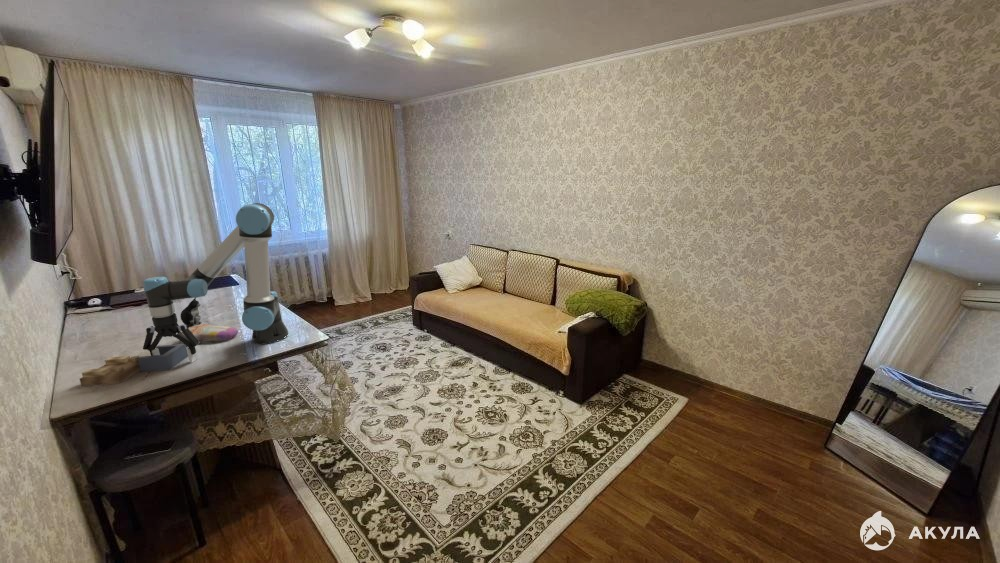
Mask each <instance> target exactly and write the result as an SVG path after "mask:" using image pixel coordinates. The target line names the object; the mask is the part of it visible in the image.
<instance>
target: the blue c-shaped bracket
mask: <svg viewBox="0 0 1000 563" xmlns="http://www.w3.org/2000/svg"><path fill="white" fill-rule="evenodd" d="M156 348H158V349H159V353H160V355H154V356H151V355H145V356H139V358H137V359H138V362H139V366H140V369H141V370H140V372H141V373H142V372H156V371H166V370H168V371H169V370H171V369H173V368H174V367H176V366H177V365H179V364H180V363H181V362H183V361H184V360H186V359H187V358H189V356H188V352H187V346H186V345H185V344H184V343H180V344H179V343H177V344H165V345H164V344H163V345H157V346H156ZM156 348H155V349H156Z"/></svg>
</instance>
